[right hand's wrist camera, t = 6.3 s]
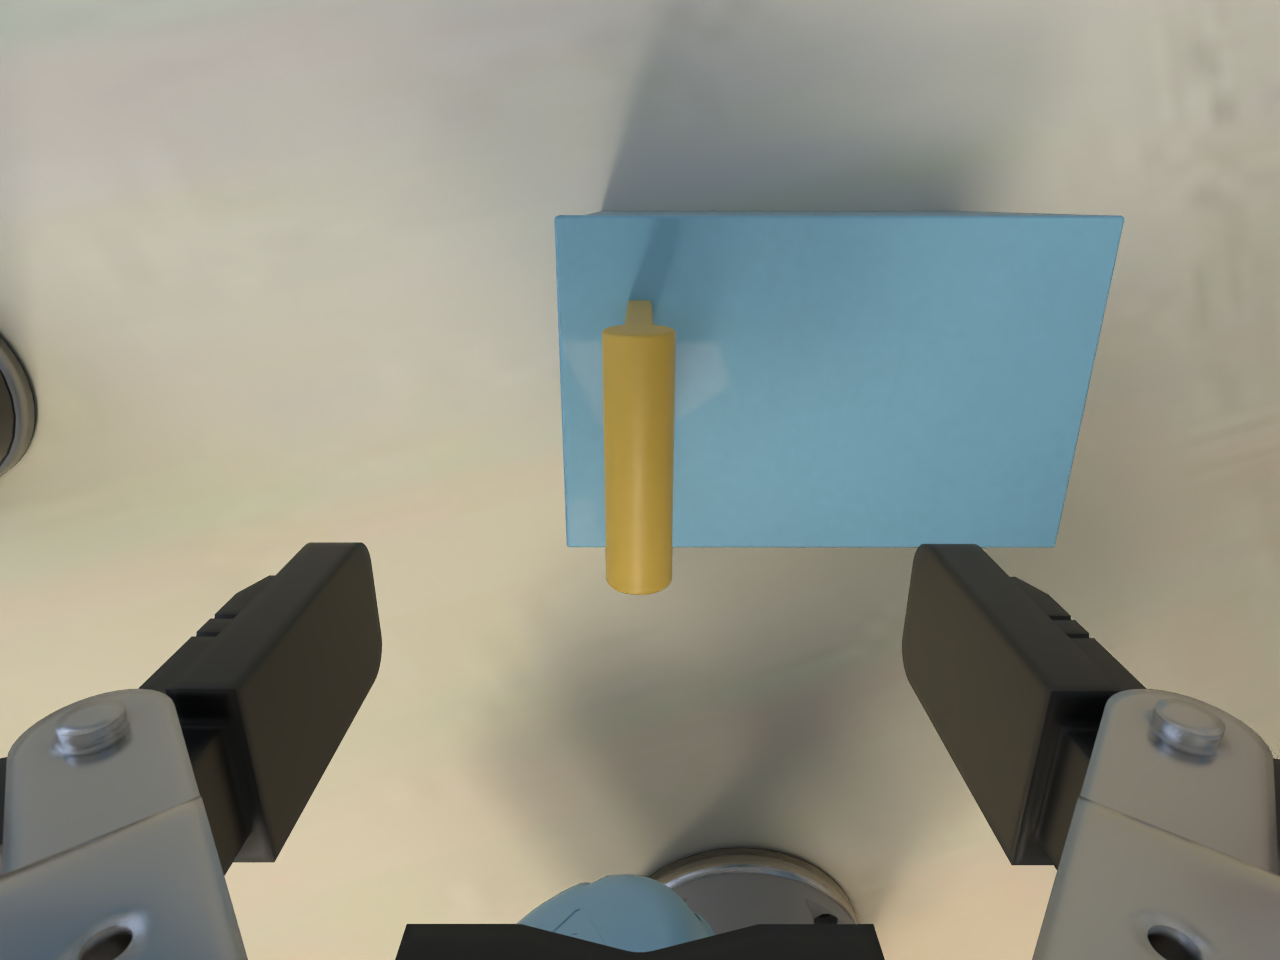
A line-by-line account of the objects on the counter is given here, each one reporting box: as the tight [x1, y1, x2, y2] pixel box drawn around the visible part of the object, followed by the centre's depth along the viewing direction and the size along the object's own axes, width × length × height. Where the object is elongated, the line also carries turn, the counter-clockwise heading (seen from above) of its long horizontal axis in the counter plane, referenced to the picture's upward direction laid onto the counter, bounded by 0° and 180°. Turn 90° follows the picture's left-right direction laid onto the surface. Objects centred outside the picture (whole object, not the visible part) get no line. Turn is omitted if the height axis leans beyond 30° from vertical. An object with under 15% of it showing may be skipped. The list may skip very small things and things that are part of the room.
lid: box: [555, 215, 1124, 595], centre depth 20 cm, size 16×10×8 cm, turn 90°
